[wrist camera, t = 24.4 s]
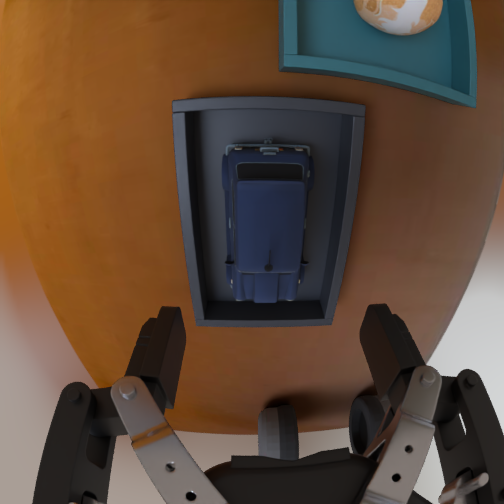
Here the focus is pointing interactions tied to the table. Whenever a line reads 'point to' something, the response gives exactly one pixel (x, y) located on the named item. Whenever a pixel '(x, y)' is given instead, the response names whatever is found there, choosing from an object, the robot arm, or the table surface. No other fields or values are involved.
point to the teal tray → (381, 49)
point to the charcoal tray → (318, 210)
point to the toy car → (266, 218)
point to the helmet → (399, 14)
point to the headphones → (286, 431)
